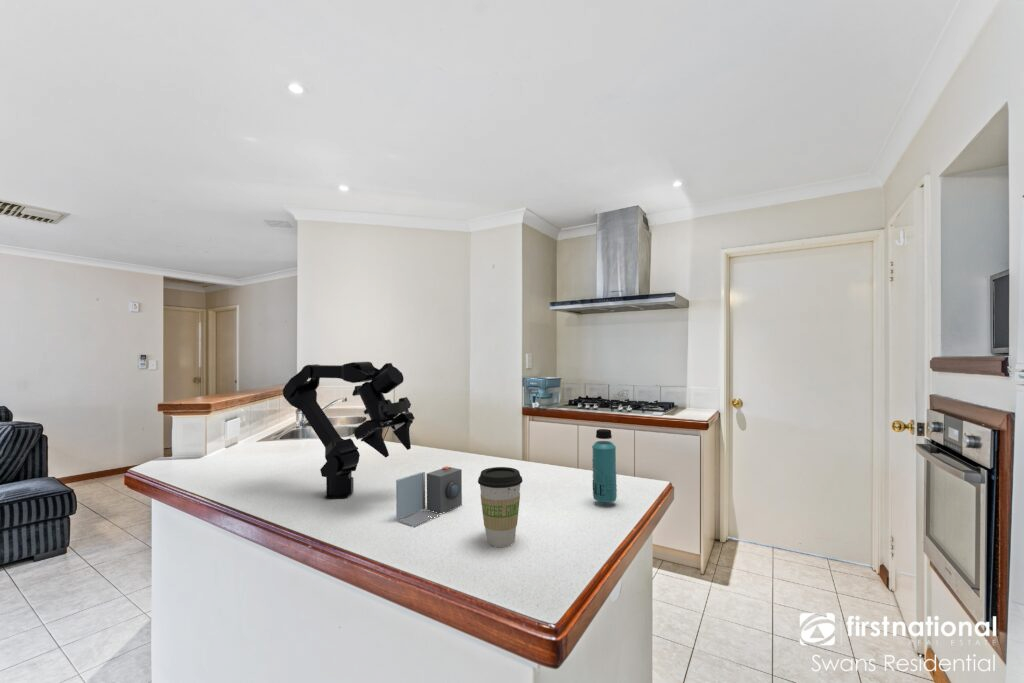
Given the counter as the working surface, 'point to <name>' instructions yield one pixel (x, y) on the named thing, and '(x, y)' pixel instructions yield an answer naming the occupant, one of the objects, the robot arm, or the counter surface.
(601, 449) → the beverage bottle
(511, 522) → the coffee cup
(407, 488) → the side door
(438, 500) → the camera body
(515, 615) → the counter surface
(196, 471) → the counter surface
